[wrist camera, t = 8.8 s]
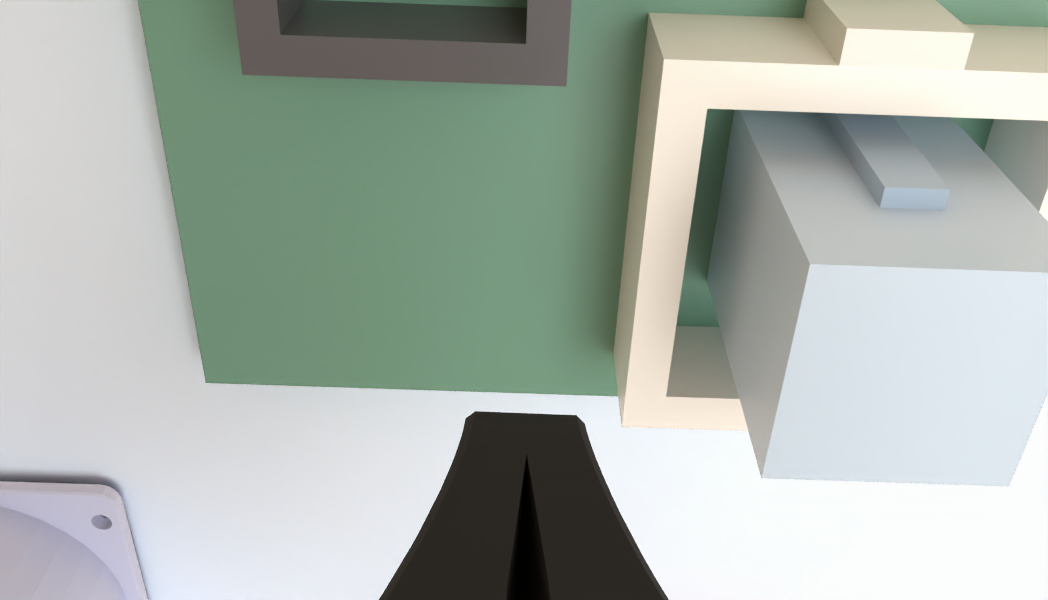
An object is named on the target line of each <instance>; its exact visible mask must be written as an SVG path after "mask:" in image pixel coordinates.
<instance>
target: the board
mask: <svg viewBox="0 0 1048 600" xmlns="http://www.w3.org/2000/svg"><path fill="white" fill-rule="evenodd" d="M326 1H353V2H380V3H407V4H434V5H461V6H488V7H515V8H527V0H326ZM806 1H807V0H572V3H571V19H570V36H569V52H568V69H567V85H566V87H564V86H536V85H509V84H481V83H453V82H426V81H398V80H370V79H343V78H315V77H287V76H259V75H242V68H241V60H240V52H239V44H238V36H237V28H236V20H235V12H234V4H233V0H138V3H139V9H140V14H141V20H142V26H143V31H144V37H145V43H146V48H147V54H148V59H149V65H150V71H151V76H152V82H153V88H154V93H155V99H156V105H157V110H158V116H159V121H160V127H161V133H162V138H163V144H164V150H165V155H166V161H167V167H168V172H169V178H170V183H171V189H172V195H173V200H174V206H175V212H176V217H177V223H178V228H179V234H180V240H181V245H182V251H183V257H184V262H185V268H186V274H187V279H188V285H189V290H190V296H191V302H192V307H193V313H194V319H195V324H196V330H197V335H198V341H199V347H200V352H201V358H202V364H203V369H204V375H205V381H206V383H227V384H258V385H288V386H319V387H350V388H381V389H411V390H442V391H473V392H504V393H534V394H565V395H596V396H618V389H617V380H616V372H615V363H614V354H613V353H614V343H615V333H616V324H617V314H618V304H619V295H620V285H621V275H622V266H623V256H624V246H625V237H626V227H627V217H628V208H629V198H630V188H631V179H632V169H633V159H634V150H635V140H636V130H637V121H638V111H639V101H640V92H641V82H642V72H643V62H644V53H645V43H646V33H647V24H648V14H649V12H650V13H677V14H704V15H731V16H758V17H785V18H803V17H804V12H805V6H806ZM936 1H937V2H938V3H939V4H941V5H942V6H943V7H944V8H945V9H946V10H948V11H949V12H950V13H951V14H952V15H954V16H955V17H956V18H957V19H958V20H960V21H961V22H962V23H963V24H975V25H1002V26H1029V27H1048V0H936ZM733 115H734V109H707V114H706V121H705V128H704V135H703V142H702V149H701V156H700V163H699V170H698V177H697V184H696V191H695V198H694V205H693V212H692V219H691V226H690V233H689V240H688V247H687V254H686V261H685V268H684V275H683V282H682V289H681V296H680V303H679V310H678V317H677V324H676V326H699V327H719V324H718V320H717V316H716V313H715V309H714V306H713V302H712V298H711V295H710V291H709V288H708V284H707V276H708V270H709V264H710V257H711V251H712V245H713V239H714V233H715V227H716V220H717V214H718V208H719V202H720V196H721V190H722V183H723V177H724V171H725V165H726V159H727V153H728V146H729V140H730V134H731V128H732V122H733ZM952 118H953V119H954V120H955V121H956V122H957V123H958V124H959V125H960V127H961V128H962V129H963V130H964V131H965V132H966V133H967V134H968V135H969V136H970V137H971V138H972V140H973V141H974V142H975V143H976V144H977V145H978V146H979V147H980V148H981V149H982V150H983V152H984V150H985V147H986V144H987V140H988V137H989V134H990V131H991V128H992V124H993V121H994V119H985V118H957V117H952Z"/></svg>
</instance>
